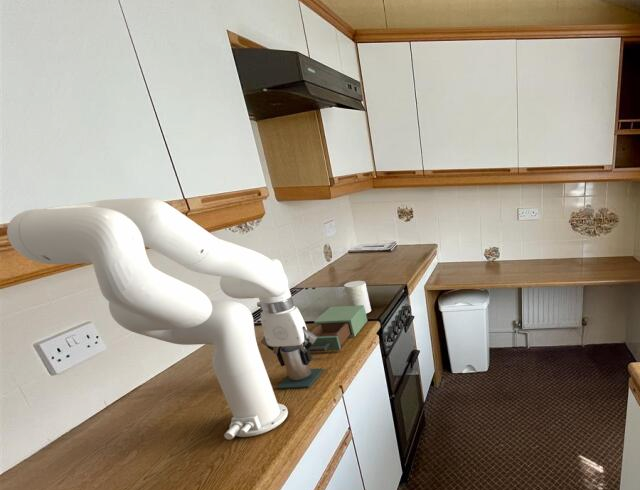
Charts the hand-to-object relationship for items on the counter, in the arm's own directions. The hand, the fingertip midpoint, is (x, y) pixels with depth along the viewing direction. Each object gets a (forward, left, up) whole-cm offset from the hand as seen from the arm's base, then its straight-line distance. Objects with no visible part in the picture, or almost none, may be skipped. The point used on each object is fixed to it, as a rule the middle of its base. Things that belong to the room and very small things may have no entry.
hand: (296, 362), depth 117 cm
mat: (0, 0, -5) cm, 5 cm away
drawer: (+21, +1, -5) cm, 21 cm away
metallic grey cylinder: (0, 0, -4) cm, 4 cm away
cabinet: (+36, +1, -5) cm, 36 cm away
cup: (+54, 0, -6) cm, 54 cm away
